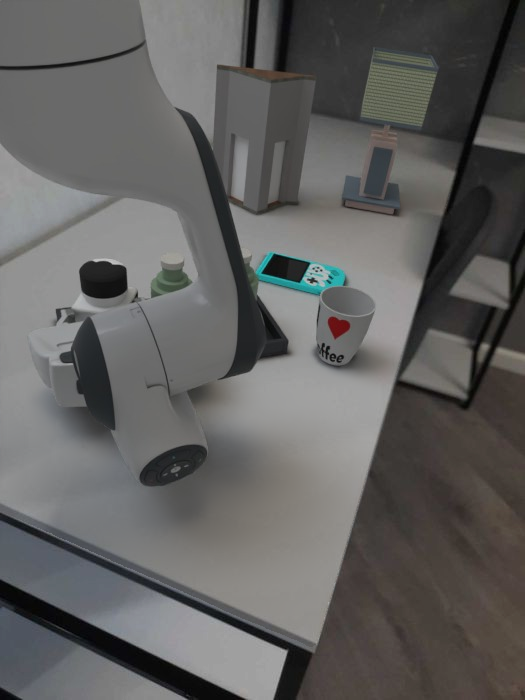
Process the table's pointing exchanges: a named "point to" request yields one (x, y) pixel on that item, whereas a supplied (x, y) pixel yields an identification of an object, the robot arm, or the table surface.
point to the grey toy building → (261, 134)
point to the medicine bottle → (102, 288)
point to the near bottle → (170, 275)
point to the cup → (342, 323)
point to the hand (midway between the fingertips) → (103, 307)
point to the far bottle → (250, 270)
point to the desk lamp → (389, 122)
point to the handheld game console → (299, 273)
